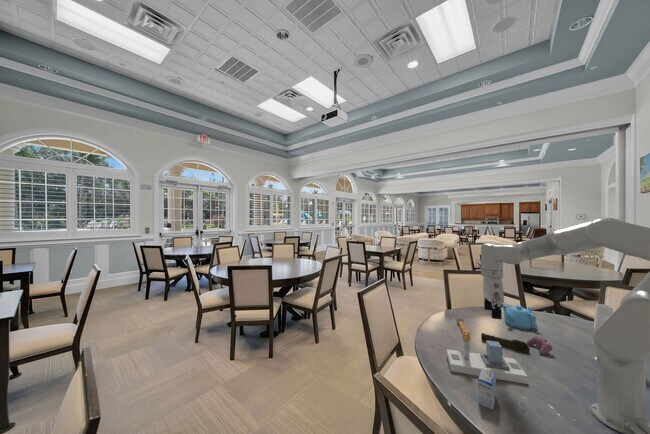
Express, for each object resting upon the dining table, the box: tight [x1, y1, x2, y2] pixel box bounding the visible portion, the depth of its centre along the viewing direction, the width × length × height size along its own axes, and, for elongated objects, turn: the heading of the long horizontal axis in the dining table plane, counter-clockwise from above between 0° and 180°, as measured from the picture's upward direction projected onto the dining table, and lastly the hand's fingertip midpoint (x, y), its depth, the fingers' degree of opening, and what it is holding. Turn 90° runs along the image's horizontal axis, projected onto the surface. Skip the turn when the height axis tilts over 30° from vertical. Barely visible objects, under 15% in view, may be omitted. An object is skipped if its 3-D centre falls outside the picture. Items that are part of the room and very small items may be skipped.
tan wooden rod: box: [456, 318, 471, 342], centre depth 110 cm, size 3×17×3 cm, turn 160°
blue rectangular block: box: [485, 340, 503, 365], centre depth 100 cm, size 4×4×8 cm
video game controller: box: [526, 335, 553, 356], centre depth 115 cm, size 10×5×7 cm, turn 170°
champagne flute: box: [593, 303, 614, 361], centre depth 106 cm, size 7×7×24 cm
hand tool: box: [480, 332, 530, 354], centre depth 119 cm, size 19×4×5 cm, turn 46°
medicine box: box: [477, 368, 497, 411], centre depth 84 cm, size 8×4×9 cm, turn 141°
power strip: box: [446, 339, 529, 385], centre depth 102 cm, size 12×26×11 cm, turn 71°
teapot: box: [501, 304, 538, 330], centre depth 143 cm, size 15×17×11 cm
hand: (492, 314), depth 101 cm, fingers open, 9 cm apart
